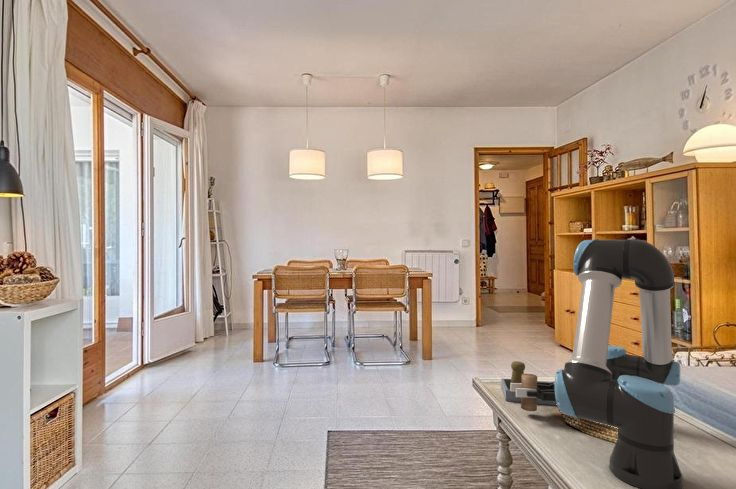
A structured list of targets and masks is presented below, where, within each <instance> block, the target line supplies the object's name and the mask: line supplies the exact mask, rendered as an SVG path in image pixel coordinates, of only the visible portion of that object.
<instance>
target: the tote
mask: <svg viewBox="0 0 736 489" xmlns="http://www.w3.org/2000/svg"><path fill="white" fill-rule="evenodd" d="M500 381H501V382H500V386H501V388H500V389H501V391H502V394H503V398H504V401H505V402H514V403H521V397H516V392H511V391H510V383H511V378H504V377H503V378H501V380H500ZM537 382H545V381H542V380H541V381H540V380H537ZM538 404H539V405H547V406H548V405H551V406H557V405H556V404H557V402H556V401H542V400H541V399H538V398H537V405H538Z"/></svg>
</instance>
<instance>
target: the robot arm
mask: <svg viewBox="0 0 736 489" xmlns="http://www.w3.org/2000/svg"><path fill="white" fill-rule="evenodd" d="M572 264H573V265H572V266H573V267H572V268H573V273H574V275H576V276H577V280H578V282H580V284H582V285H581V291H580V298H579V299H580V301H579V306H578V314H577V320H576V321H577V322H576V328H575V334H574V341H573V349H572V356H571V359H568V360H566V362H564V366H563V367H564V368H562V369H558V370H556V372H555V376H554V381H550V382H549V381H544V382H537V392H536V389H526V388H521V383H510V391H511V392H516V397H528V398H536V397H537V398H538V399H541V400H542V401H556V402H557V405H556V406H557V408H558V409H559V411H560V412H561V413H562V414H564V415H567V416H570V417H573V418H575V419H581V420H586V421H588V422H589V421H590V422H593V423H598V424H601V425H605V426H610V427H613V428H617V439H616V441H615V445H614V446H613V449H612V451H611V454H610V456H609V465H608V466H609V467H608V468H609V470H610V472H611V474H613V475H614V476H615V477H617V478H618V479H619V480H621V481H623V482H624V483H626V484H629V485H631V486H632V487H633V486H634V487H636V488H639V489H683V479H684V478H683V474H682V472H681V468H680V466H679V463H678V459H677V456H676V455H675V454H676V453H675V449H674V444H675V427H674V424H675V423H674V422H675V418H674V416H675V413H676V408H675V398H674V395H673V392H672V391H671V390H670V389H669V388H668V387H666V386H679V385H680V384H681V364H680V362H678V361H676V360H673V351H672V348H673V347H672V316H671V315H672V314H671V310H672V309H671V289H673V288H674V286H675V275H674V271H673V268H672V265H671V263H670V262H669V259H667V257H666V256H665V255H664V253H663V252H661V250H659V248H657V247H656V246H655V245H654V244H652V243H650V242H648V241H646V240H642V239H633V238H632V239H599V238H594V239H585V240H584V239H583V241H581V242H580V243H579V244H578V245H577V247H576V248H575V253H574V256H573V263H572ZM623 279H629V280H631V279H633V280H634V285H635V287H636V288H637V289H639V292H638V293H639V306H640V308H639V310H640V323H641V324H640V326H641V342H642V343H641V344H642V356H640V355H634V354H629V353H628V354H627V350H626V348H625V347H622V346H618V345H613V344H611V345H609V344H610V334H611V325H612V319H613V318H612V316H613V310H614V309H613V308H614V302H615V301H614V300H615V291H616V289H617V288H619V287H621V285H622V282H623ZM664 385H665V386H664Z"/></svg>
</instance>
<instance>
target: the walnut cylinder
mask: <svg viewBox="0 0 736 489" xmlns="http://www.w3.org/2000/svg"><path fill="white" fill-rule="evenodd" d="M537 381H538V376H537V375H536V374H533V373H524V374H522V379H521V388H526V389H536V392H537ZM520 408H521V409H522V410H523V411H527V412H537V409H538V404H537V397H536V398H528V397H521V402H520Z"/></svg>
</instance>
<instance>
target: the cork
mask: <svg viewBox="0 0 736 489" xmlns="http://www.w3.org/2000/svg"><path fill="white" fill-rule="evenodd" d="M510 368H511V370H512V371H511V378H510V379H511V383H521V379H522V374H525V373H524V371H525V369H526V364H525V363H524V362H523V361H516V360H515V361H512V362H511V364H510Z"/></svg>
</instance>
